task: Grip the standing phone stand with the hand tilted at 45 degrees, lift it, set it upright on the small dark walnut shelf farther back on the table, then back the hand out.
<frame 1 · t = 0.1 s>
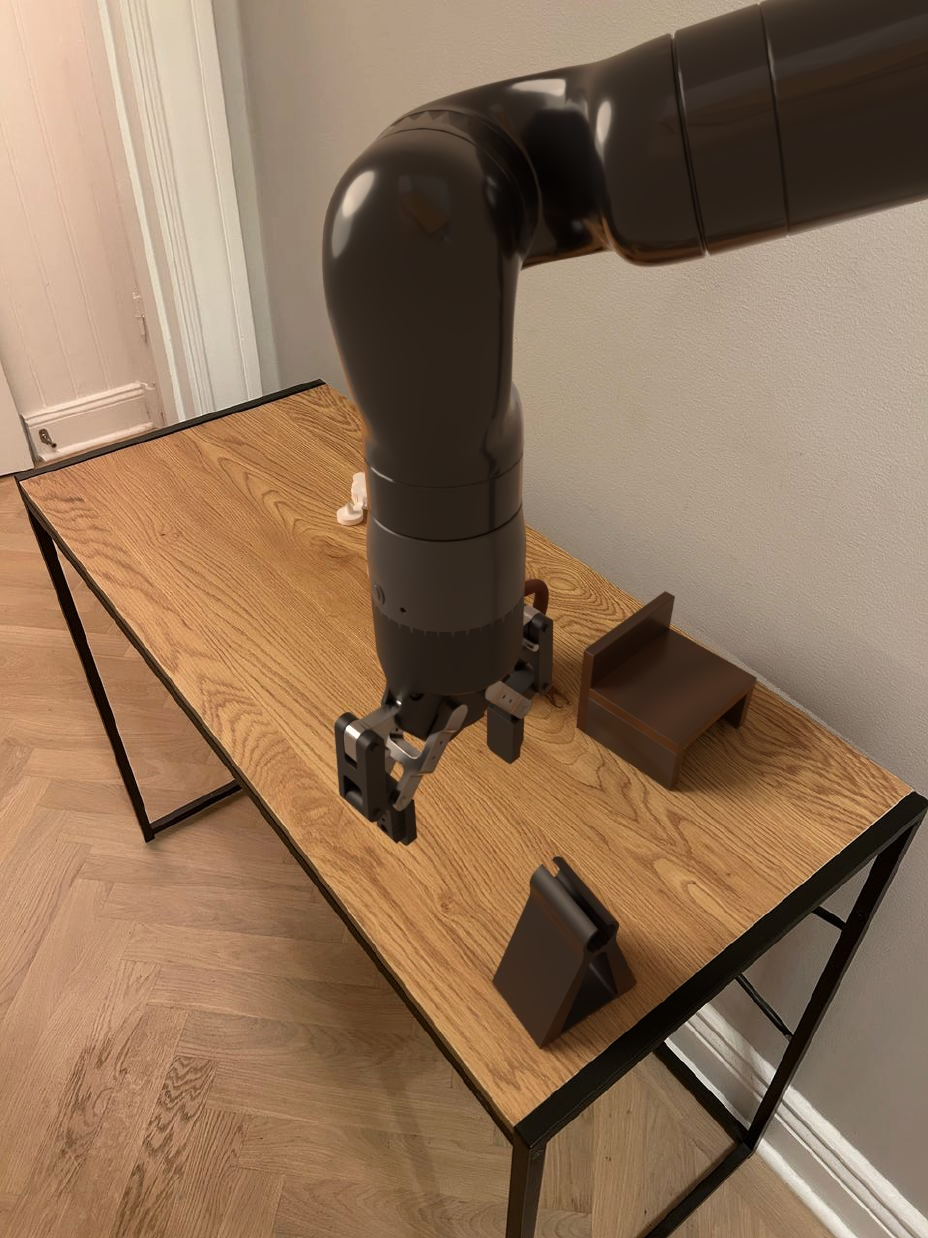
hand: (454, 792, 56), 22 cm above the table, tool pointing down, fingers open, 8 cm apart
stone: (424, 590, 106), on the table
phone stand: (563, 986, 70), on the table
shelf: (664, 727, 90), on the table
white rounded lumpy shapes: (365, 501, 121), on the table
mug: (493, 672, 96), on the table
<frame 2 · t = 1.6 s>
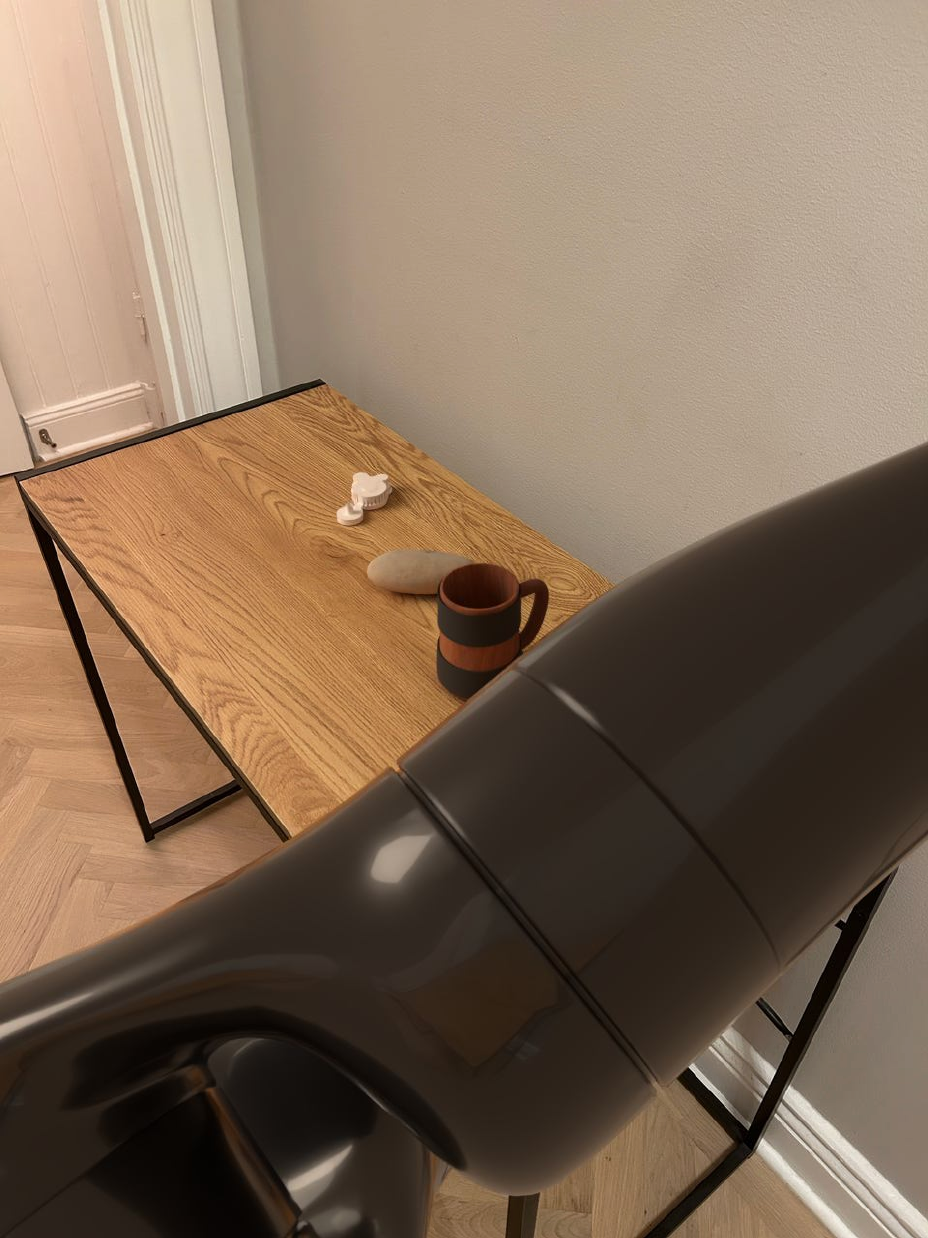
hand: (523, 926, 46), 25 cm above the table, tool tilted 45°, fingers open, 8 cm apart
nothing on the table moved.
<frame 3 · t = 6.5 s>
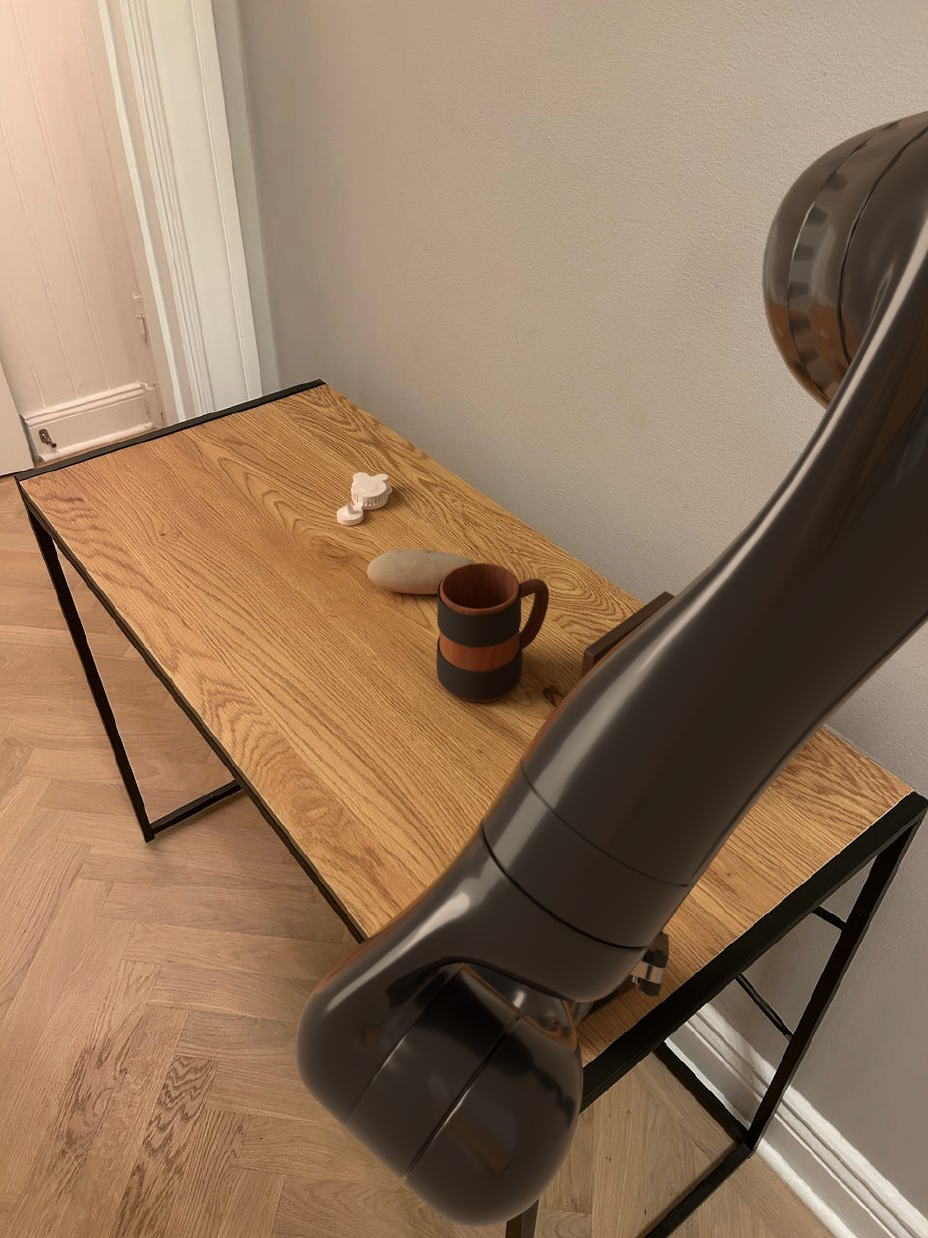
hand: (577, 907, 66), 8 cm above the table, tool tilted 45°, fingers closed on phone stand, 6 cm apart
phone stand: (563, 986, 70), on the table, touching gripper
everything else where it was.
when the fingers open (14 cm above the table, at t = 15.4 s): phone stand stays where it is, resting on shelf.
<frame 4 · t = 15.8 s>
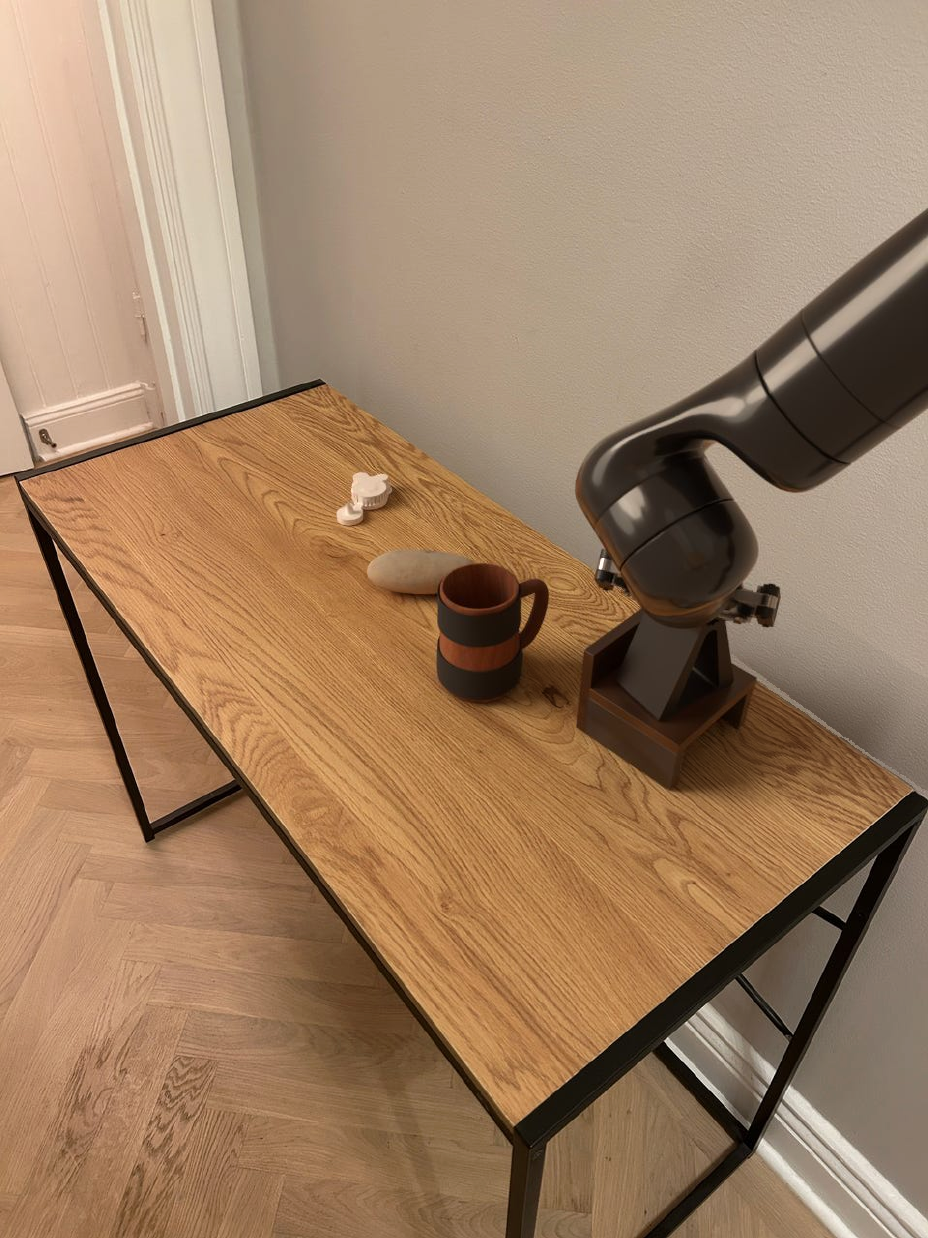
hand: (689, 600, 81), 15 cm above the table, tool tilted 45°, fingers open, 8 cm apart
phone stand: (673, 684, 86), point 6 cm above the table, touching shelf
everything else where it was.
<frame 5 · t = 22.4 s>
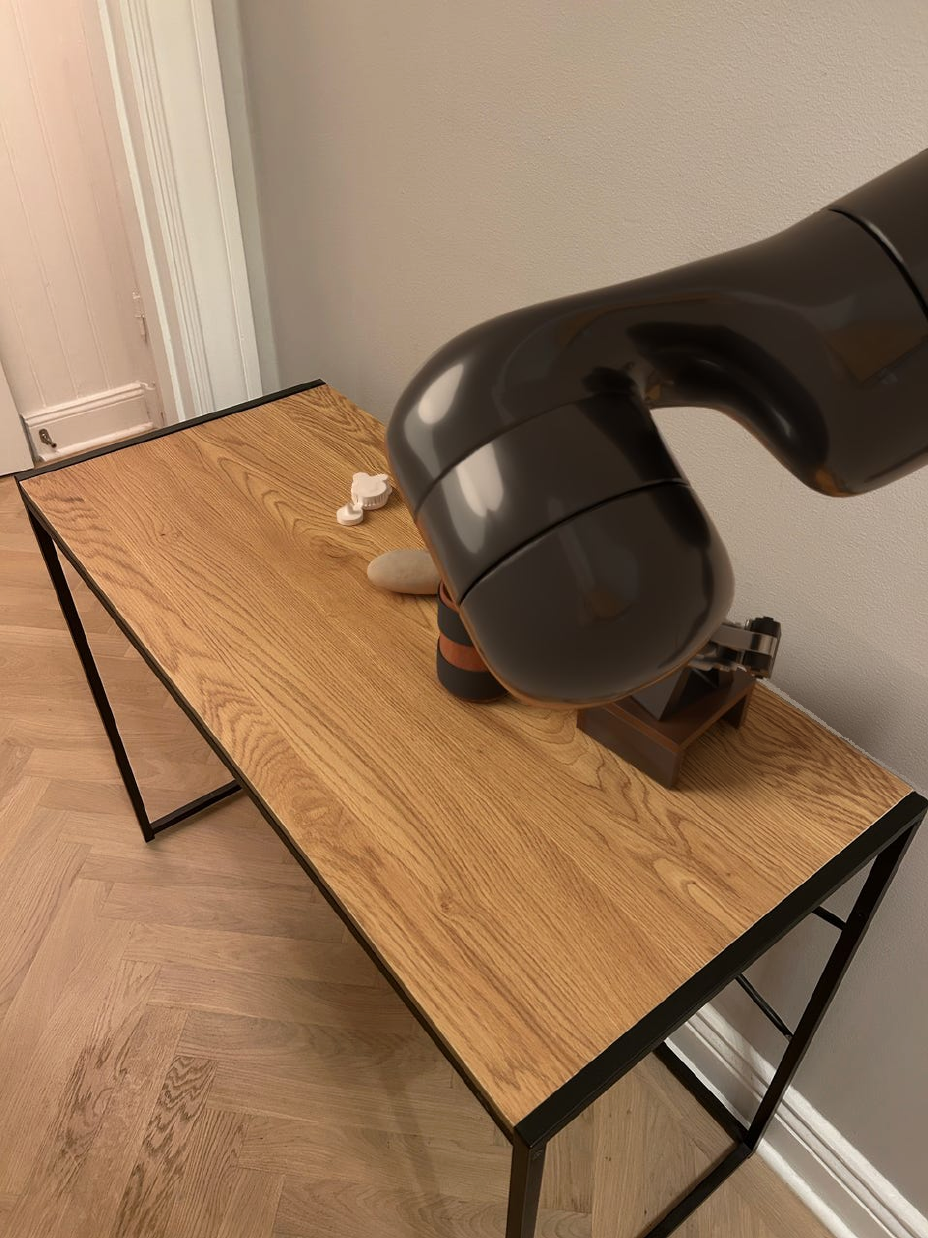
hand: (651, 634, 57), 29 cm above the table, tool tilted 45°, fingers open, 8 cm apart
nothing on the table moved.
at the end: phone stand inside the target area on the shelf (0.1 cm from its centre), point 5.8 cm above the shelf's base; phone stand tilted 0°; the gripper is holding nothing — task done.
